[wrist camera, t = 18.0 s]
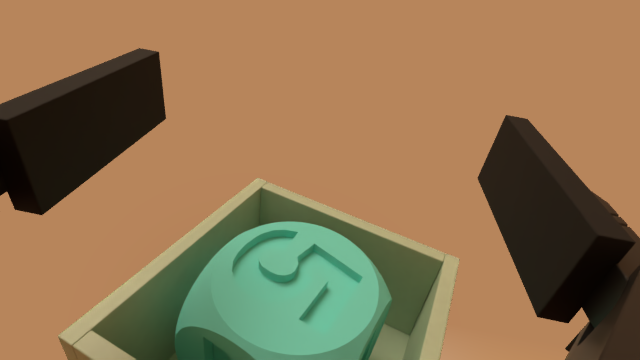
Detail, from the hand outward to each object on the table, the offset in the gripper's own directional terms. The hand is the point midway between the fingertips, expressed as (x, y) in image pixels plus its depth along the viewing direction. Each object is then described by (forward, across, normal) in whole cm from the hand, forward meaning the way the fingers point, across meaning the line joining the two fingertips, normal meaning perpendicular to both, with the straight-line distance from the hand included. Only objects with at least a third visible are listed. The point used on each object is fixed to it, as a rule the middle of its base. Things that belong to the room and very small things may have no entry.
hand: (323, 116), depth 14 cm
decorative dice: (-2, 0, -15) cm, 15 cm away
